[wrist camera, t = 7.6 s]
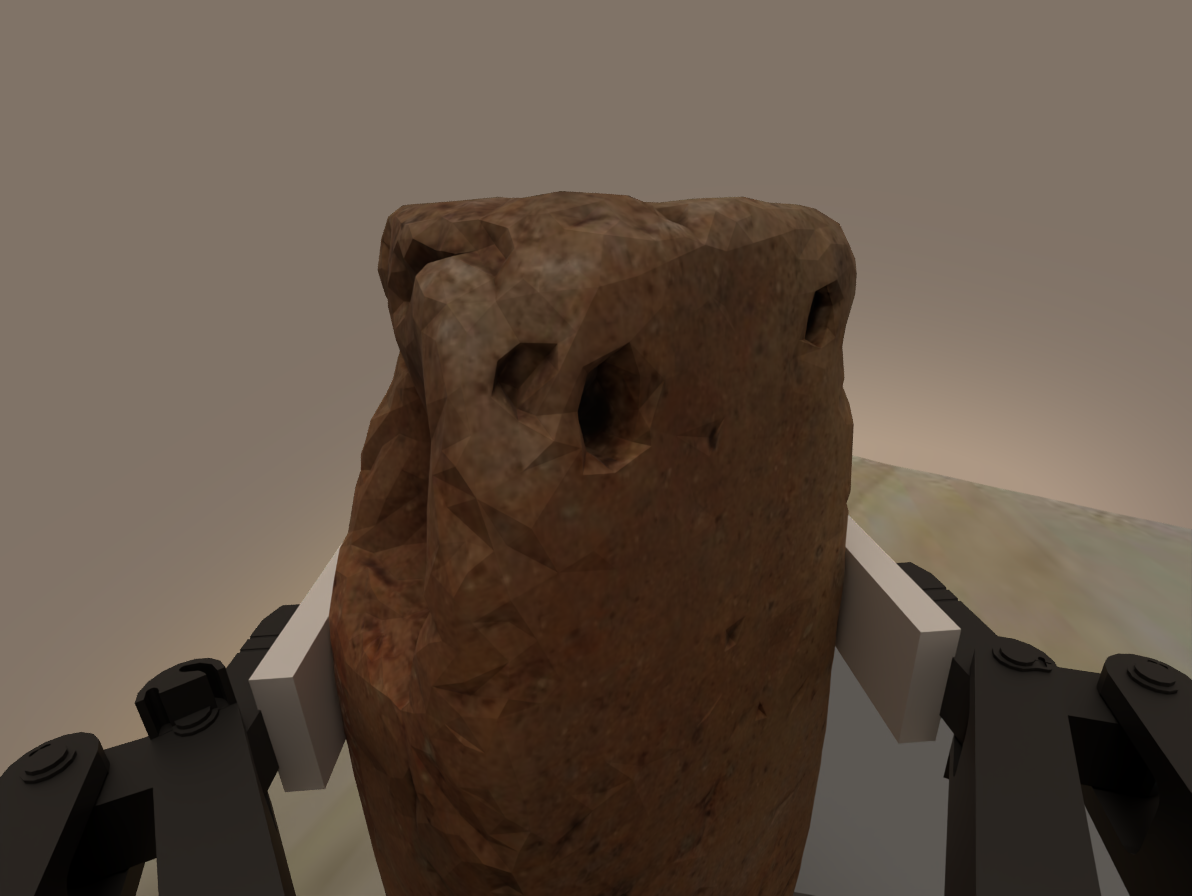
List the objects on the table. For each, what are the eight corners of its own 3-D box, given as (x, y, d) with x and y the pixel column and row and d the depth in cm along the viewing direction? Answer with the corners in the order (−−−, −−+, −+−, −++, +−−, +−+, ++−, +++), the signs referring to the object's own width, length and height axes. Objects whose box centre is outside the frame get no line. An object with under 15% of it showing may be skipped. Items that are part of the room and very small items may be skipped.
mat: (763, 897, 27) (764, 886, 27) (753, 641, 43) (754, 632, 43) (1238, 991, 23) (1245, 979, 23) (1029, 669, 39) (1032, 660, 39)
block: (655, 746, 23) (648, 202, 16) (830, 900, 18) (940, 176, 10) (389, 956, 17) (181, 211, 10) (533, 1297, 11) (300, 162, 4)
